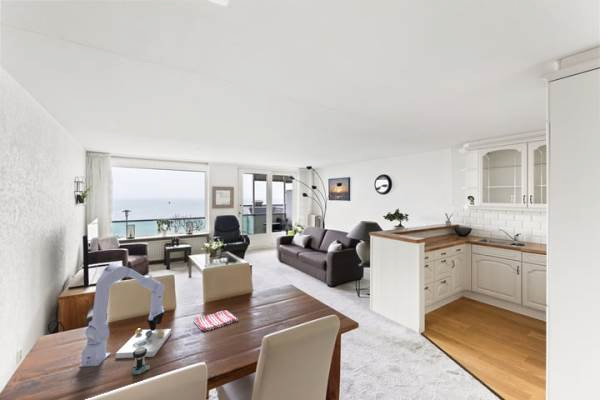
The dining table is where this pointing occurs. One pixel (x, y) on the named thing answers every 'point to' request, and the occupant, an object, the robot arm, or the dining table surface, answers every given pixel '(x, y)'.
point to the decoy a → (138, 331)
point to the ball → (148, 333)
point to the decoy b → (160, 334)
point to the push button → (139, 360)
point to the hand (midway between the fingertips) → (156, 327)
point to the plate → (144, 343)
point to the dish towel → (214, 320)
